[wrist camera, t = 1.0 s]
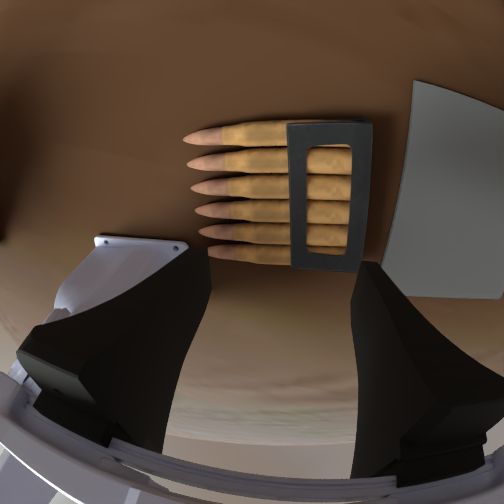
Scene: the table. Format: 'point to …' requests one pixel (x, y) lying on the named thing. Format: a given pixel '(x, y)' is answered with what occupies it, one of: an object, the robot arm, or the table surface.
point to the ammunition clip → (290, 192)
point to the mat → (449, 200)
